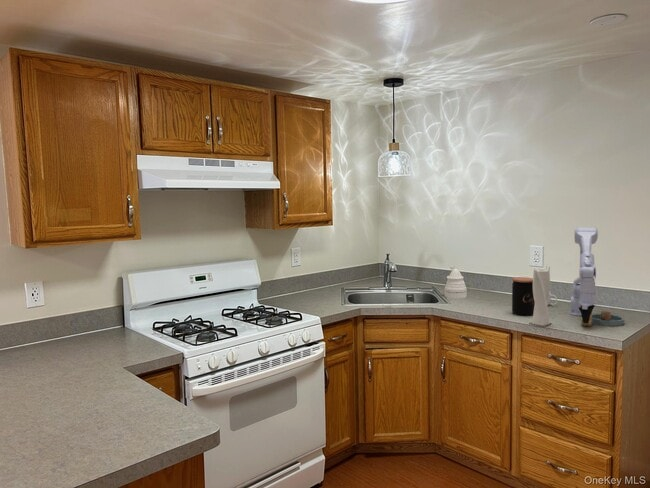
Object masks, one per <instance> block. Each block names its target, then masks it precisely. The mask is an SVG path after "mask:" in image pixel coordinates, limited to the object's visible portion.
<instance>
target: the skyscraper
mask: <svg viewBox="0 0 650 488" xmlns="http://www.w3.org/2000/svg"><path fill="white" fill-rule="evenodd" d="M547 269H548V270H547ZM532 278H533V296H534V301H535V306H534V313H533V315H532V321H531V322H529V325H533V326H537V327H541V328H542V327H543V328H544V327H546V326H547V327H548V326H550V325H552V323H551V322H550V317H549V315H550V314H549V308H548V306H549V305H547V301H548V297H549V292H551V291H550V290H551V274H550V265H546V267H544V268H543V267H540V268H538V269H537V268H534V269H533V276H532Z"/></svg>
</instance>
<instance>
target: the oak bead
mask: <svg viewBox="0 0 650 488" xmlns="http://www.w3.org/2000/svg"><path fill="white" fill-rule="evenodd" d="M591 318H592V314H590V319H589V323H583V320H582V319H581V323H580V324H581V325H582V326H585V327H591V326H592V323H591Z"/></svg>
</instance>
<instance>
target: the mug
mask: <svg viewBox="0 0 650 488" xmlns="http://www.w3.org/2000/svg"><path fill="white" fill-rule="evenodd" d="M552 297H554V298H555V302H554V303H552V302H551V301H552ZM557 303H558V297H557V296H556V295H555V294H552V293H551V291H550V292H549V297H548V301H547V306H549V305H551V306H554V305H557Z"/></svg>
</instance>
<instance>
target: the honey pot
mask: <svg viewBox="0 0 650 488" xmlns="http://www.w3.org/2000/svg"><path fill="white" fill-rule="evenodd" d="M449 268H450V270H451V272H450V274H449V275H447V276H446V279H447V280H446V283H445V286H444V297H445V298H447V299H465V298H467V293H468V290H467V286H466V282H465V281H464V278H465V277H464V276H463V275H462V273H461V272H460V271H459V269H458V268H455V266H452V265H451V266H449Z"/></svg>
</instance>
